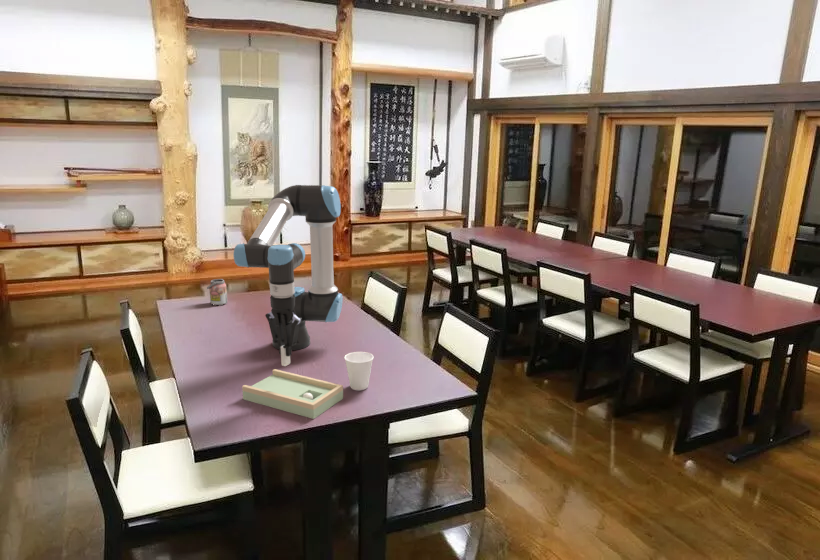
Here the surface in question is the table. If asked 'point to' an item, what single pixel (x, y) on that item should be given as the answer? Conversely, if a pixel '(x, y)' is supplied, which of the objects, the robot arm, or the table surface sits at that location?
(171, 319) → the table surface
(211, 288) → the beverage can
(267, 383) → the green tray with hole
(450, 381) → the table surface
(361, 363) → the cup
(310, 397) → the ball
